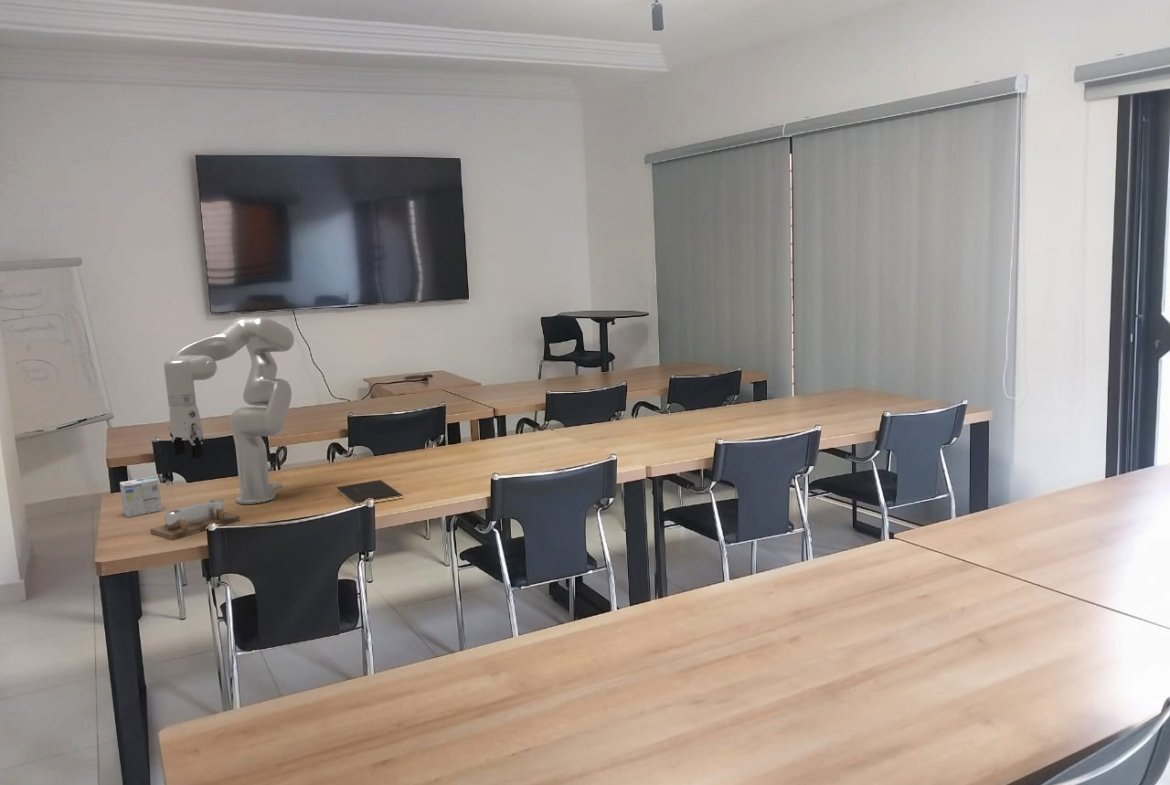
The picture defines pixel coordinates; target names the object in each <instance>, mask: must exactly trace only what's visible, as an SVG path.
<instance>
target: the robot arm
mask: <svg viewBox="0 0 1170 785" xmlns="http://www.w3.org/2000/svg"><path fill="white" fill-rule="evenodd" d="M294 342H295V337H294V334H293V332H292V331H291V329H290V328H289V327H287V326H286V325H284V324H282V323H279V322H277V321H275V320H273V319H272V318H271V319H270V318H268V317H265V316H241V317H236V318H235V319H233V320H231V321H230V322H229V323H227V325H225V326H224V327H223V328H221V329H220V330H218V332H216V333H215V334H213V335H212V336H209V337H206V338H203V339H201V340H199V341H196V342H193V343H191V344H188V345H187V346H185V347H183V348H182V349H179V351H178V352H175V354H174V355H173V356H171V357H170V359H169V360H166V361H165V362H164V363H163V370H164V371H163V372H164V379H165V386H166V395H167V404H168V408H169V426H168V431H169V435H170V437H171V442H172V446H173V447H172V448H173V454H174V456H179V455H185V453H186V450H185V441H184V440H189V442H190V454H191V458H192V459H194V460H195V459H199V458H203V455H204V454H203V446H202V445H203V439H204V436H203V435H204V431H203V428H202V422H201V416H200V411H199V408H198V405H197V400H196V392H195V383H194V382H195V381H206V380H208V379H211V378H212V377H214V376H215V374H216V373H217V370H218V365H217V362H218V361H223V360H225V359H229V358H231V357H233V356H235V354H237V352H239V351H240V350H241V349H242V348H244V346H245V347H246V349H247V351H248V354H249V357H250V361H251V362H250V363H251V366H250V370H249V373H248V377H247V380H246V384H245V387H244V388H243V389H244V390H243V395H242V397H243V401H244V403H245V404H246V405H249V406H250V407H249V406H247V407H239V408H237V409H235V410H234V411H232V413H231V414H230V416H229V427H230V430H231V433H232V438H233V440H234V445H235V447H234V448H235V452H236V454H235V455H236V464H237V473H238V474H237V475H238V483H239V484H238V485H239V490H240V491H239V492H240V495H238V496H237V497H236V498H235V502H236V503H237V504H241V505H254V504H255V505H256V503H257V504H261V503H262V502H263V503H266V501H267V502H270V501H273V500H274V499H276V492H275V490H279V489H282V488H283V487H284V485H283V483H282V482H278V483H270V474H269V465H268V464H269V463H268V455H267V454H268V453H267V447H266V444H265V442H264V440H263V438H262V437H274V436H277V435H278V434H280V433H281V431H282V430H283V427H284V425H285V421H286V418H287V415H288V411H289V408H290V405H291V401H292V394H293V393H292V387H291V384H290V383H289V381H287V380H285V379H283V378H277V373H278V365H277V362H276V361H275V358H274V357H273V356H272V352H273V353H274V352H275V353H276V352H277V353H278V352H279V353H281V352H282V353H283V352H288V351H289V350H291V349H292V347H293V345H294ZM183 439H184V440H183ZM269 500H270V501H269Z"/></svg>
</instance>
